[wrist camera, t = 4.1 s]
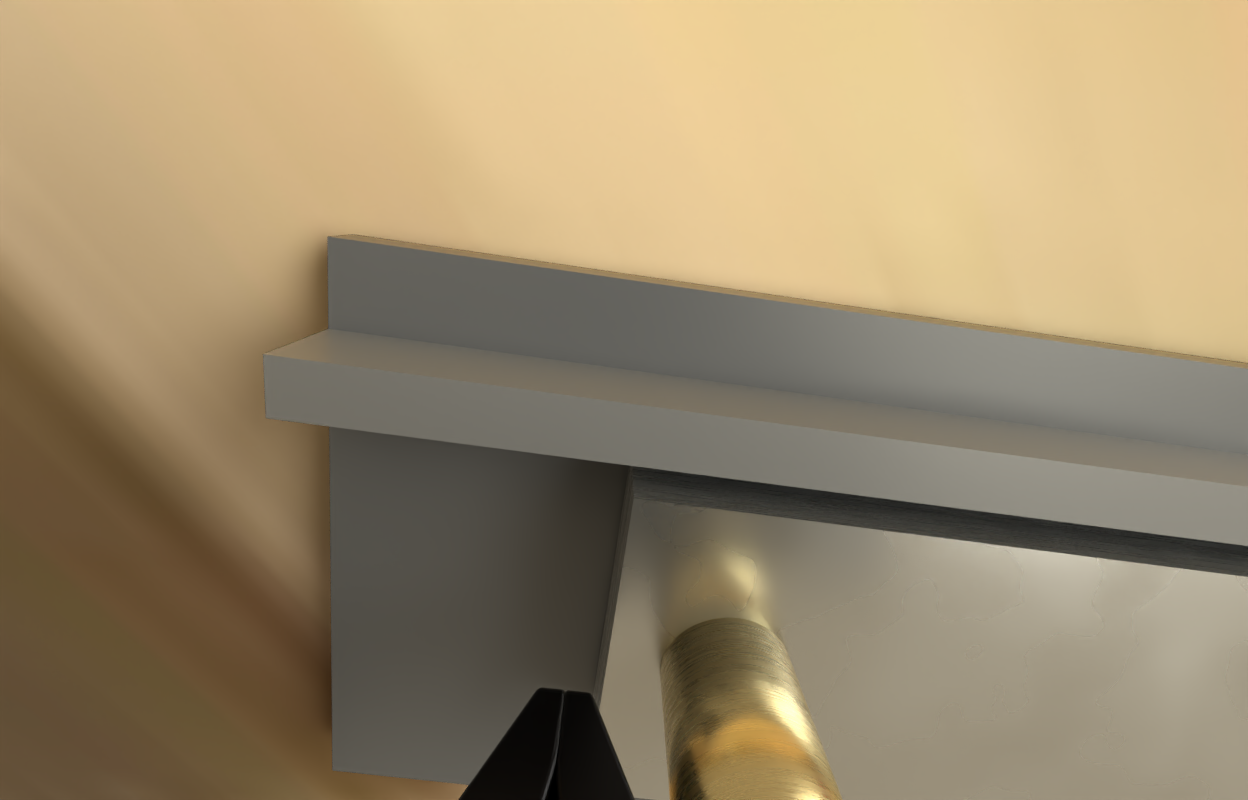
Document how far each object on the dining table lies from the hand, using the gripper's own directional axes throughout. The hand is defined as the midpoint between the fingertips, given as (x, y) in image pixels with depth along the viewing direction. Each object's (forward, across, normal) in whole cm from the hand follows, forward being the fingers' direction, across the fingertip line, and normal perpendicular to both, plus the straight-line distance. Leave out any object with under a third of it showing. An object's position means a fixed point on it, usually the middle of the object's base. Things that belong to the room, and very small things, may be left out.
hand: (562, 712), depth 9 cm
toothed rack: (+3, -10, +1) cm, 10 cm away
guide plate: (+5, -10, 0) cm, 11 cm away
